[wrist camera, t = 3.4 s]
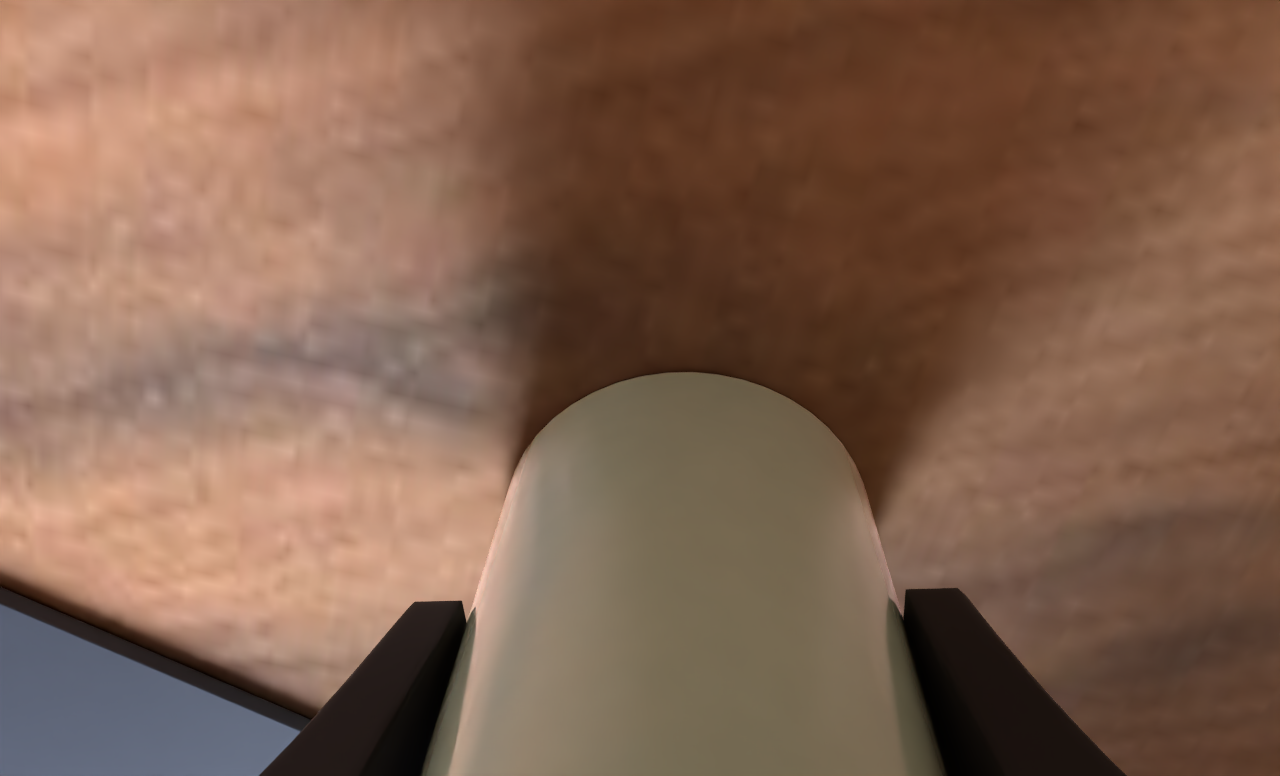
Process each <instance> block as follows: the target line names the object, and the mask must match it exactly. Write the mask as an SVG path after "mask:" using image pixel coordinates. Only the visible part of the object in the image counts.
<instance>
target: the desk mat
mask: <svg viewBox="0 0 1280 776" xmlns="http://www.w3.org/2000/svg"><path fill="white" fill-rule="evenodd" d="M310 721H311V720H310V719H308V718H305V717H303V716H301V715H298V714H296V713H294V712H291V711H289V710H287V709H284V708H282V707H280V706H277V705H275V704H273V703H270V702H268V701H266V700H263V699H261V698H259V697H256V696H254V695H252V694H249V693H247V692H245V691H242V690H240V689H238V688H235V687H233V686H231V685H228V684H226V683H224V682H221V681H219V680H217V679H214V678H212V677H210V676H207V675H205V674H203V673H200V672H198V671H196V670H193V669H191V668H189V667H186V666H184V665H182V664H179V663H177V662H175V661H172V660H170V659H168V658H165V657H163V656H161V655H158V654H156V653H154V652H151V651H149V650H147V649H144V648H142V647H140V646H137V645H135V644H133V643H130V642H128V641H126V640H123V639H121V638H119V637H116V636H114V635H112V634H109V633H107V632H105V631H102V630H100V629H98V628H95V627H93V626H91V625H88V624H86V623H84V622H81V621H79V620H77V619H74V618H72V617H70V616H67V615H65V614H63V613H60V612H58V611H56V610H53V609H51V608H49V607H46V606H44V605H42V604H39V603H37V602H35V601H32V600H30V599H28V598H25V597H23V596H21V595H18V594H16V593H14V592H11V591H9V590H7V589H4V588H2V587H0V776H259V775H260V774H261V773H262V772H263V771H264V769H265V768H266V767H267V766H268V765H269V764H270V763H271V762H272V761H273V760H274V759H275V758H276V757H277V756H278V755H279V754H280V753H281V752H282V751H283V750H284V749H285V748H286V747H287V746H288V745H289V744H290V743H291V742H292V741H293V740H294V739H295V737H296V736H297V735H298V734H299V733H300V732H301V731H302V730H303V729H304V728H305V727H306V725H307V724H308V723H309V722H310Z"/></svg>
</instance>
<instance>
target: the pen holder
mask: <svg viewBox="0 0 1280 776" xmlns="http://www.w3.org/2000/svg"><path fill="white" fill-rule="evenodd" d="M419 776H949V774H948V771H947V768H946V764H945V761H944V757H943V754H942V750H941V747H940V744H939V740H938V737H937V733H936V730H935V727H934V723H933V720H932V716H931V713H930V709H929V706H928V703H927V699H926V696H925V692H924V689H923V685H922V682H921V679H920V675H919V672H918V668H917V665H916V661H915V658H914V655H913V651H912V648H911V644H910V641H909V638H908V634H907V631H906V627H905V624H904V620H903V617H902V614H901V610H900V607H899V603H898V600H897V596H896V593H895V590H894V586H893V583H892V579H891V576H890V572H889V569H888V566H887V562H886V559H885V555H884V552H883V549H882V545H881V542H880V538H879V535H878V531H877V528H876V525H875V521H874V518H873V514H872V511H871V507H870V504H869V501H868V497H867V494H866V490H865V487H864V483H863V481H862V479H861V476H860V474H859V472H858V469H857V467H856V465H855V463H854V461H853V460H852V458H851V456H850V455H849V453H848V452H847V450H846V449H845V447H844V445H843V444H842V443H841V442H840V441H839V439H838V438H837V437H836V436H835V435H834V434H833V433H832V431H831V430H830V429H829V428H828V427H827V426H826V425H825V424H823V423H822V422H821V421H820V420H819V419H818V418H817V417H815V416H814V415H813V414H812V413H811V412H809V411H808V410H806V409H805V408H803V407H802V406H800V405H799V404H797V403H795V402H794V401H792V400H791V399H789V398H787V397H785V396H783V395H781V394H779V393H777V392H775V391H773V390H771V389H768V388H766V387H763V386H760V385H758V384H755V383H752V382H749V381H746V380H743V379H738V378H733V377H729V376H724V375H719V374H710V373H699V372H667V373H660V374H653V375H646V376H640V377H636V378H633V379H629V380H625V381H621V382H618V383H615V384H612V385H610V386H608V387H605V388H603V389H600V390H598V391H595V392H593V393H591V394H589V395H588V396H586V397H584V398H582V399H581V400H579V401H577V402H575V403H573V404H572V405H570V406H569V407H568V408H566V409H565V410H564V411H562V412H561V413H560V414H558V415H557V416H556V417H554V418H553V419H552V420H551V421H550V422H549V423H548V424H547V425H546V426H545V427H544V428H543V429H542V430H541V431H540V432H539V433H538V434H537V436H536V437H535V438H534V440H533V441H532V442H531V444H530V445H529V446H528V448H527V449H526V450H525V452H524V454H523V456H522V458H521V459H520V461H519V463H518V465H517V467H516V469H515V471H514V474H513V477H512V480H511V483H510V486H509V489H508V492H507V495H506V498H505V502H504V505H503V508H502V511H501V515H500V518H499V521H498V524H497V527H496V531H495V534H494V537H493V540H492V543H491V547H490V550H489V553H488V556H487V559H486V563H485V566H484V569H483V572H482V576H481V579H480V582H479V585H478V588H477V592H476V595H475V598H474V601H473V604H472V608H471V611H470V614H469V617H468V620H467V624H466V627H465V630H464V633H463V637H462V640H461V643H460V646H459V649H458V653H457V656H456V659H455V662H454V665H453V669H452V672H451V675H450V678H449V681H448V685H447V688H446V691H445V694H444V698H443V701H442V704H441V707H440V710H439V714H438V717H437V720H436V723H435V726H434V730H433V733H432V736H431V739H430V742H429V746H428V749H427V752H426V755H425V759H424V762H423V765H422V768H421V771H420V775H419Z"/></svg>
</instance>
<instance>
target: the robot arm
mask: <svg viewBox="0 0 1280 776" xmlns="http://www.w3.org/2000/svg"><path fill="white" fill-rule="evenodd" d="M466 624H467V623H466V618H465V613H464V609H463V604H462V601H431V602H414V603H413V604H412V605H411V606H410V607H409V608H408V609H407V610H406V612H405V613H404V614H403V615H402V616H401V617H400V618H399V620H398V621H397V622H396V623H395V624H394V625H393V627H392V628H391V629H390V630H389V631H388V632H387V634H386V635H385V636H384V637H383V638H382V640H381V641H380V642H379V643H378V644H377V646H376V647H375V648H374V649H373V650H372V651H371V653H370V654H369V655H368V656H367V657H366V659H365V660H364V661H363V662H362V663H361V664H360V666H359V667H358V668H357V669H356V670H355V671H354V672H353V674H352V675H351V676H350V677H349V678H348V679H347V681H346V682H345V683H344V684H343V685H342V686H341V688H340V689H339V690H338V691H337V692H336V693H335V694H334V695H333V696H332V698H331V699H330V700H329V701H328V702H327V703H326V704H325V705H324V707H323V708H322V709H321V710H320V711H319V712H318V713H317V714H316V715H315V717H314V718H313V719H312V720H311V721H310V722H309V723H308V724H307V725H306V727H305V728H304V729H303V730H302V731H301V732H300V733H299V734H298V735H297V736H296V737H295V739H294V740H293V741H292V742H291V743H290V744H289V745H288V746H287V747H286V748H285V749H284V750H283V751H282V752H281V753H280V754H279V755H278V756H277V757H276V758H275V759H274V760H273V761H272V762H271V763H270V764H269V765H268V766H267V767H266V768H265V769H264V771H263V772H262V773H261V774H260V775H259V776H419V775H420V771H421V768H422V765H423V762H424V759H425V755H426V752H427V749H428V746H429V742H430V739H431V736H432V733H433V730H434V726H435V723H436V720H437V717H438V714H439V710H440V707H441V704H442V701H443V698H444V694H445V691H446V688H447V685H448V681H449V678H450V675H451V672H452V669H453V665H454V662H455V659H456V656H457V653H458V649H459V646H460V643H461V640H462V637H463V633H464V630H465V627H466ZM904 624H905V627H906V631H907V634H908V638H909V641H910V644H911V648H912V651H913V655H914V658H915V661H916V665H917V668H918V672H919V675H920V679H921V682H922V685H923V689H924V692H925V696H926V699H927V703H928V706H929V709H930V713H931V716H932V720H933V723H934V727H935V730H936V733H937V737H938V740H939V744H940V747H941V750H942V754H943V757H944V761H945V764H946V768H947V771H948V774H949V776H1127V775H1126V774H1125V773H1123V772H1122V771H1121V770H1120V769H1119V768H1118V767H1117V766H1116V765H1115V764H1114V763H1113V762H1112V761H1111V760H1110V759H1109V758H1108V757H1107V756H1106V755H1105V754H1104V753H1103V752H1102V751H1101V750H1100V749H1099V747H1098V746H1097V745H1096V744H1095V743H1094V742H1093V741H1092V740H1091V739H1090V738H1089V737H1088V736H1087V735H1086V734H1085V733H1084V732H1083V731H1082V730H1081V729H1080V728H1079V727H1078V725H1077V724H1076V723H1075V722H1074V721H1073V720H1072V719H1071V718H1070V717H1069V716H1068V715H1067V714H1066V712H1065V711H1064V710H1063V709H1062V708H1061V707H1060V706H1059V705H1058V704H1057V703H1056V702H1055V701H1054V700H1053V698H1052V697H1051V696H1050V695H1049V694H1048V693H1047V692H1046V691H1045V690H1044V689H1043V687H1042V686H1041V685H1040V684H1039V683H1038V682H1037V681H1036V680H1035V678H1034V677H1033V676H1032V675H1031V674H1030V673H1029V672H1028V670H1027V669H1026V668H1025V667H1024V666H1023V665H1022V663H1021V662H1020V661H1019V660H1018V659H1017V657H1016V656H1015V655H1014V654H1013V653H1012V652H1011V650H1010V649H1009V648H1008V647H1007V646H1006V645H1005V643H1004V642H1003V641H1002V640H1001V639H1000V637H999V636H998V635H997V634H996V632H995V631H994V630H993V629H992V628H991V626H990V625H989V624H988V623H987V621H986V620H985V619H984V618H983V616H982V615H981V614H980V613H979V611H978V610H977V609H976V608H975V606H974V605H973V604H972V603H971V601H970V600H969V599H968V598H967V596H966V595H965V594H963V593H962V592H961V591H960V590H959V589H958V588H943V589H906V593H905V606H904Z"/></svg>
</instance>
